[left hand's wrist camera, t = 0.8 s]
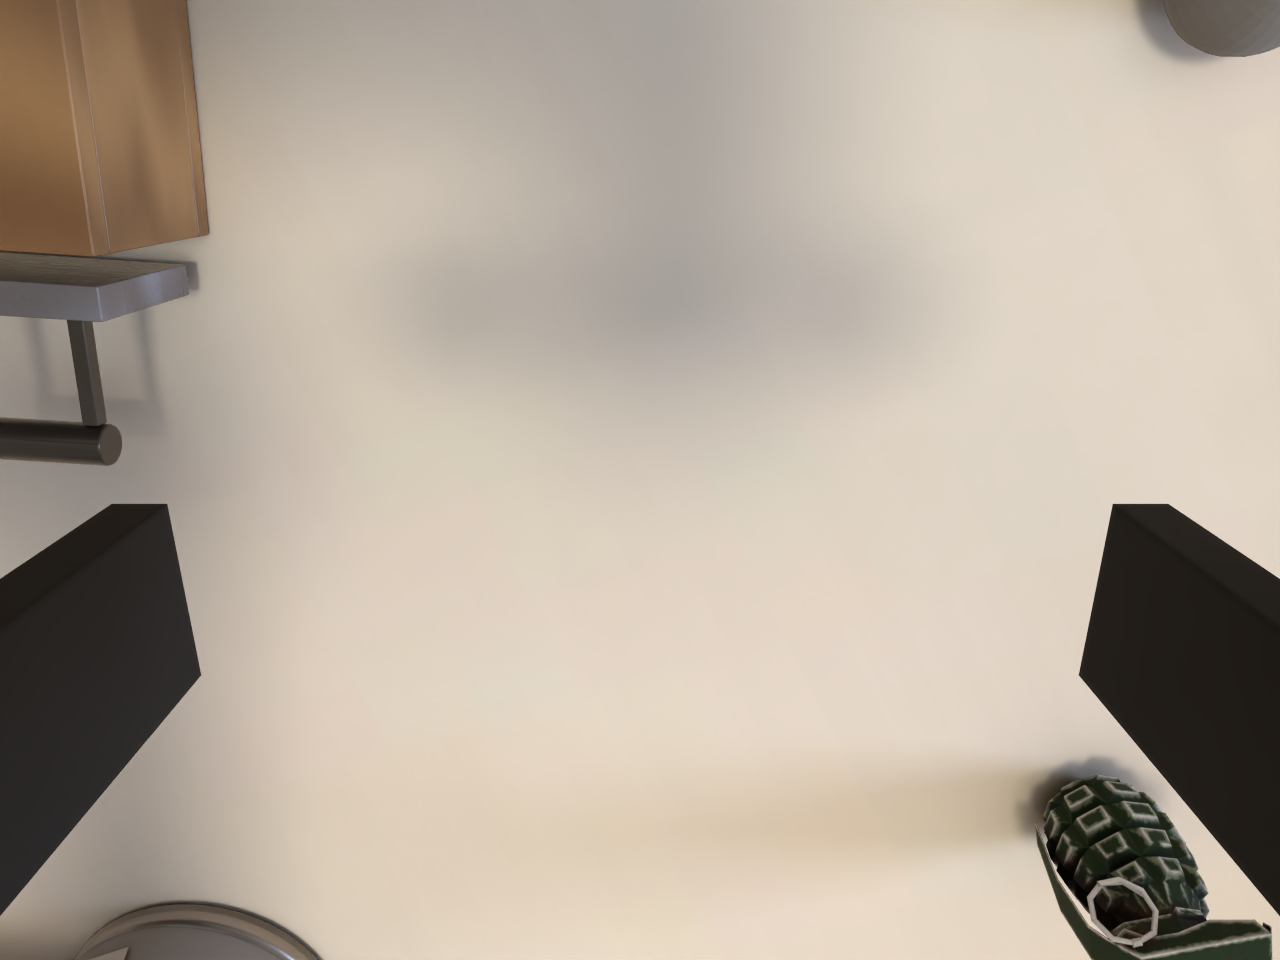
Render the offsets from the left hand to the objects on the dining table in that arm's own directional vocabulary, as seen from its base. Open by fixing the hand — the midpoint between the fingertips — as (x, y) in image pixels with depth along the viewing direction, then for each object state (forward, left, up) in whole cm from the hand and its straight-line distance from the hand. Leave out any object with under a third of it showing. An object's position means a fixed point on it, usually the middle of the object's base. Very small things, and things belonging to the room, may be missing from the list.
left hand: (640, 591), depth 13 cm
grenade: (+25, +22, -26) cm, 43 cm away
